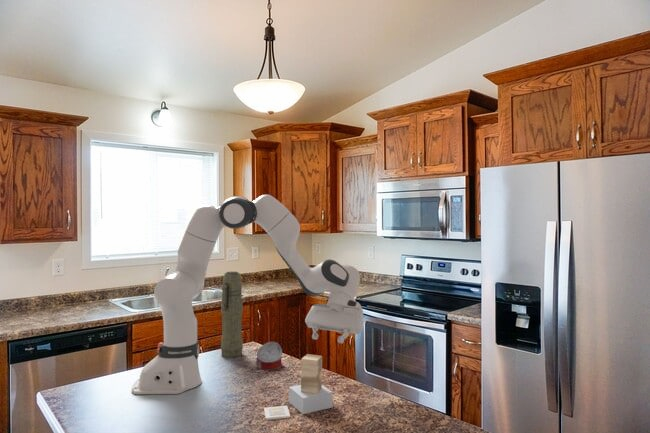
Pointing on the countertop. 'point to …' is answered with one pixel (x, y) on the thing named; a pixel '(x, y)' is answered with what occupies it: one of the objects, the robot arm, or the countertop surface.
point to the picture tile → (276, 412)
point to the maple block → (311, 373)
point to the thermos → (231, 316)
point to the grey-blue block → (310, 399)
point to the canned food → (269, 356)
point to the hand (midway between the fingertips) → (327, 340)
